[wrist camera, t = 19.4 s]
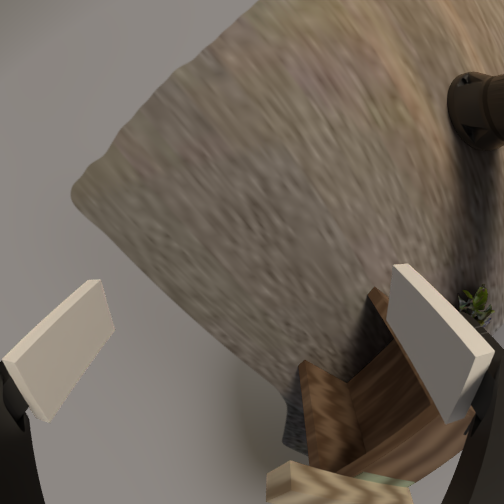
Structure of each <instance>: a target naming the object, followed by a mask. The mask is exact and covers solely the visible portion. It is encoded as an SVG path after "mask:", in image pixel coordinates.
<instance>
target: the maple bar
mask: <svg viewBox="0 0 504 504" xmlns="http://www.w3.org/2000/svg"><path fill="white" fill-rule="evenodd" d="M266 482H267V483H266V502H268V503H273V504H413V500H412V497H411V493H410V490H409V488H407V487H400V486H393V485H387V484H382V483H376V482H371V481H366V480H361V479H357V478H352V477H348V476H344V475H340V474H336V473H332V472H328V471H324V470H321V469H317V468H314V467H310V466H307V465H303V464H300V463H298V462H294V461H291V460H289V461H288V462H286V463H284V464H283V465H281V466H279V467H277V468H276V469H274V470H272V471H270V472H269V473H267V481H266Z"/></svg>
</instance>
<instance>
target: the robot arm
mask: <svg viewBox="0 0 504 504" xmlns="http://www.w3.org/2000/svg"><path fill="white" fill-rule="evenodd" d="M448 109H449V114H450V118H451V121H452V123H453V126H454V128H455V130H456V131H457V133H458V134H459V136H460V137H461V138H462V140H463V141H464V142H465V143H467V144H468V145H469V146H471V147H472V148H474V149H477V150H485V151H490V150H495V149H497V148H499V147H501V146H503V145H504V74H503V75H498V76H490V75H486V74H482V73H478V72H468V73H464V74H461V75H459V76H457V77H456V78H455V79H454V80H453V82H452V83H451V85H450V88H449V92H448ZM386 320H387V322H388V324H389V325H390V327H391V328H392V330H393V332H394V333H395V335H396V337H397V338H398V340H399V342H400V343H401V345H402V347H403V348H404V350H405V352H406V353H407V355H408V357H409V358H410V360H411V362H412V364H413V365H414V367H415V369H416V371H417V372H418V374H419V376H420V378H421V379H422V381H423V383H424V385H425V387H426V388H427V390H428V392H429V394H430V396H431V398H432V399H433V401H434V403H435V405H436V407H437V409H438V411H439V413H440V415H441V416H442V418H443V420H444V422H445V424H449V423H452V422H455V421H457V420H460V419H463V418H465V416H466V414H467V412H468V410H469V408H470V406H472V407H473V409H474V411H475V412H476V413H475V415H474V417H473V418H472V420H471V422H470V424H469V425H468V427H467V429H466V430H465V432H464V434H463V435H466V434H467V433H468V435H467V438H466V441H465V444H464V448H463V451H462V453H461V456H460V459H459V462H458V465H457V468H456V470H455V473H454V475H453V478H452V480H451V483H450V485H449V487H448V490H447V492H446V494H445V497H444V499H443V501H442V503H441V504H504V349H503V348H502V347H501V346H500V345H499V344H498V343H497V342H496V340H495V339H494V338H493V337H492V336H491V335H490V334H489V333H487V331H486V330H485V329H484V328H483V327H481V325H480V324H479V323H478V322H477V321H476V320H475V319H474V318H473V317H471V316H469V315H468V314H466V313H464V312H458V311H457V310H456V309H455V308H454V307H453V306H452V305H451V304H450V303H449V302H448V301H447V300H446V299H445V298H444V297H443V296H442V295H441V294H440V293H439V292H438V291H437V290H436V289H435V288H434V287H433V286H432V285H431V284H429V283H428V282H427V281H426V280H425V279H424V278H423V277H422V276H421V275H420V274H419V273H418V272H417V271H416V270H414V269H413V268H412V267H411V266H410V265H409V264H397V265H393V268H392V278H391V287H390V296H389V303H388V310H387V317H386ZM114 331H115V327H114V324H113V320H112V317H111V314H110V310H109V307H108V304H107V300H106V296H105V293H104V289H103V285H102V281H101V280H88V281H86V282H85V283H84V284H83V285H82V286H81V287H80V288H78V289H77V290H76V291H75V292H74V293H72V294H71V295H70V296H69V297H68V298H67V299H65V300H64V301H63V302H62V303H61V304H60V305H59V306H58V307H56V308H55V309H54V310H53V311H52V312H51V313H50V314H49V315H48V316H47V317H46V318H44V319H43V320H42V321H41V322H40V323H39V324H38V325H37V326H36V327H35V328H34V329H32V330H31V331H30V332H29V333H28V334H27V335H26V336H25V337H24V338H23V339H22V340H21V341H20V342H19V343H18V344H17V345H16V346H15V347H14V348H13V349H12V350H11V351H10V352H9V353H8V354H7V355H6V356H5V357H4V358H3V359H2V361H1V362H0V504H45V502H44V498H43V494H42V490H41V486H40V481H39V477H38V472H37V468H36V462H35V457H34V451H33V445H32V438H31V431H30V422H29V418H28V416H27V415H26V413H25V411H26V410H27V409H28V407H29V408H30V410H31V411H32V413H33V414H34V416H35V417H36V418H37V419H40V420H43V421H46V422H49V423H50V422H51V421H52V419H53V418H54V416H55V415H56V413H57V412H58V410H59V409H60V407H61V406H62V404H63V403H64V401H65V400H66V398H67V397H68V395H69V394H70V392H71V391H72V389H73V388H74V387H75V385H76V384H77V382H78V381H79V379H80V378H81V376H82V375H83V374H84V372H85V370H86V369H87V368H88V367H89V365H90V363H91V362H92V361H93V360H94V358H95V357H96V355H97V354H98V353H99V351H100V349H101V348H102V347H103V346H104V344H105V343H106V342H107V340H108V339H109V338H110V336H111V335H112V334H113V332H114Z"/></svg>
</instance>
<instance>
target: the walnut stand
mask: <svg viewBox="0 0 504 504" xmlns="http://www.w3.org/2000/svg"><path fill="white" fill-rule="evenodd" d="M368 296H369V298H370V299H371V301H372V303H373V304H374V306H375V307H376V309H377V311H378V312H379V314H380V315H381V317H382V319H383V320H384V322H385V324H386V325H387V327H388V329H389V330H390V332H391V334H392V335H393V337H394V339H393V340H392V341H391V342H390V343H389V344H388V345H387V346H386V347H385V348H384V349H383V350H382V351H381V352H380V353H379V354H378V355H377V356H376V357H375V358H374V359H373V360H372V361H371V362H370V363H369V364H368V365H367V366H366V367H365V368H363V369H362V370H361V371H360V372H359V373H358V374H357V375H356V376H355V377H354V378H352V379H351V380H350V381H349V382H348V383H346V382H344V381H342V380H340V379H338V378H336V377H335V376H333V375H331V374H329V373H327V372H326V371H324V370H322V369H320V368H318V367H317V366H315V365H313V364H311V363H310V362H308V361H306V360H304V361H303V362H302V363H301V364H300V365H299V366H298V368H299V376H300V384H301V392H302V401H303V409H304V418H305V427H306V437H307V446H308V456H309V466H310V467H314V468H317V469H321V470H324V471H328V472H332V473H336V474H340V475H344V476H348V477H352V478H357V479H361V480H366V481H371V482H376V483H382V484H387V485H393V486H400V487H407V488H408V487H409V486H411V485H412V484H414V483H416V482H417V481H419V480H421V479H422V478H424V477H425V476H427V475H428V474H430V473H431V472H433V471H434V470H436V469H437V468H439V467H440V466H441V465H443V464H444V463H446V462H447V461H448V460H449V459H451V458H452V457H454V456H455V455H456V454H457V453H459V452H460V451H462V450H463V448H464V444H465V441H466V438H467V435H468V433H467V434H466V435H463V434H464V432H465V430H466V429H467V427H468V425H469V424H470V422H471V420H472V418H473V417H474V415H475V413H476V412H475V411H474V409H473V407H472V406H470V408H469V410H468V412H467V414H466V416H465V418H463V419H460V420H457V421H455V422H452V423H449V424H445V422H444V420H443V418H442V416H441V415H440V413H439V411H438V409H437V407H436V405H435V403H434V401H433V399H432V398H431V396H430V394H429V392H428V390H427V388H426V387H425V385H424V383H423V381H422V379H421V378H420V376H419V374H418V372H417V371H416V369H415V367H414V365H413V364H412V362H411V360H410V358H409V357H408V355H407V353H406V352H405V350H404V348H403V347H402V345H401V343H400V342H399V340H398V338H397V337H396V335H395V333H394V332H393V330H392V328H391V327H390V325H389V324H388V322H387V320H386V317H387V310H388V303H389V298H388V297H387V296H386V295H384V294H383V293H382V292H381V291H380V290H378V289H377V288H376V287H374V288H373V289H372V290H371V291H370V293H369V294H368Z"/></svg>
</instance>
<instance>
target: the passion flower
mask: <svg viewBox="0 0 504 504" xmlns="http://www.w3.org/2000/svg"><path fill="white" fill-rule="evenodd" d="M482 286H483V287H479V288H478V290H477V292H476V294H475V296H474V297H472V295H471V294H470V293H469V292H468V291H466V290H462V291H463V292H464V293H465V294H466V295H467V297H468V302H465V301H464V300H462V299H461V298H460V296H459V293H458V298H459V304H460V305H459V310H460V312H461V311H462V310H463V309H465V310H466V312H467V313H468V311H467V309H468V308H469V309H472V314H471V317H473V318H474V319H475V320H476V321H477V322H478V323H479V324H480V325H481V327H485V326H486V325H487V324H488V323H490V322H489V320H491V318H489V317H488V316H489V315H490V314H492V313H495V311H494V310H491V309H492V306H491V304H490V305H489V307H488V308H487V309H486V310H485V311H484V312H480V311H478V310H484V308H485V305H484V304H486V302H487V297H488V296H487V295H488V293H487V289H486V288H485V284H482ZM468 303H471V304H470V306H468V307H465V306H466V305H467V304H468ZM468 314H469V313H468ZM475 315H477V316H475ZM469 316H470V315H469ZM474 316H475V317H474Z"/></svg>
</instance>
